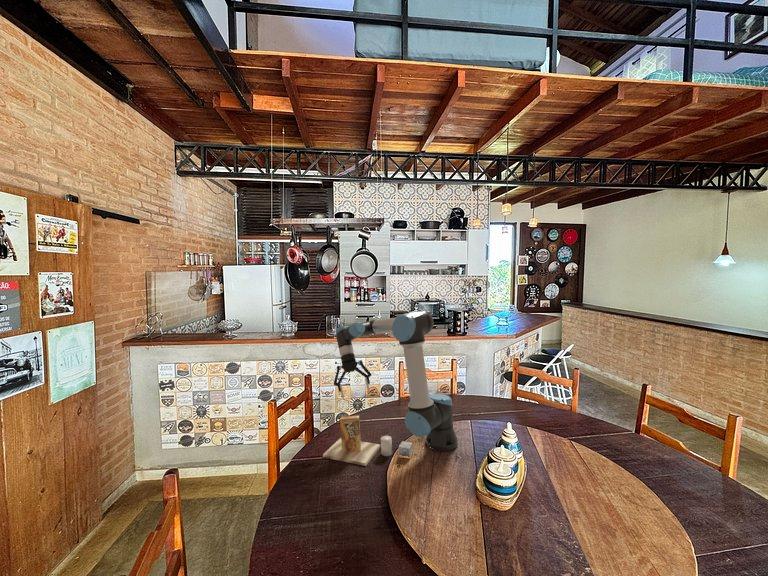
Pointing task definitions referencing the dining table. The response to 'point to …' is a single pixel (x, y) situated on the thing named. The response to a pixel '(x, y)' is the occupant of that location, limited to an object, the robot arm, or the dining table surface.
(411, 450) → the metal block
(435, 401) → the robot arm
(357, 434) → the candy box
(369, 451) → the birch board
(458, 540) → the dining table surface
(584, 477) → the dining table surface
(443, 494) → the dining table surface
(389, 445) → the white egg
